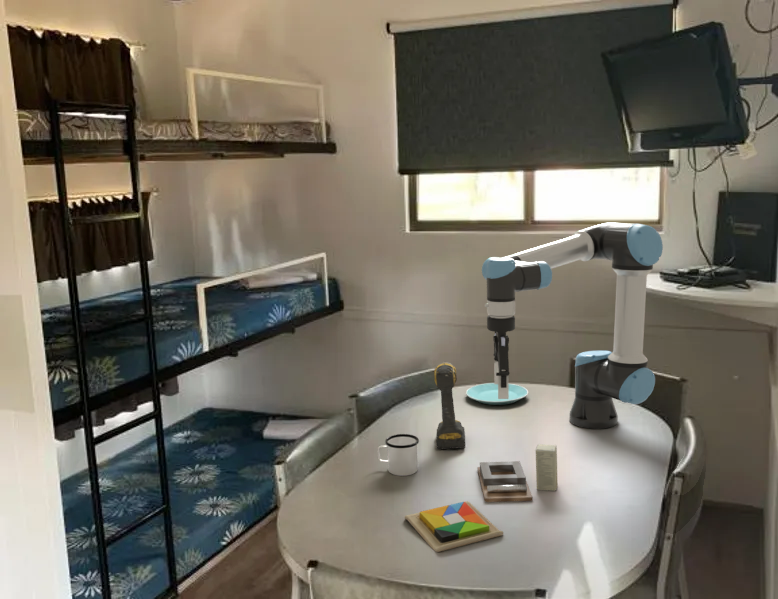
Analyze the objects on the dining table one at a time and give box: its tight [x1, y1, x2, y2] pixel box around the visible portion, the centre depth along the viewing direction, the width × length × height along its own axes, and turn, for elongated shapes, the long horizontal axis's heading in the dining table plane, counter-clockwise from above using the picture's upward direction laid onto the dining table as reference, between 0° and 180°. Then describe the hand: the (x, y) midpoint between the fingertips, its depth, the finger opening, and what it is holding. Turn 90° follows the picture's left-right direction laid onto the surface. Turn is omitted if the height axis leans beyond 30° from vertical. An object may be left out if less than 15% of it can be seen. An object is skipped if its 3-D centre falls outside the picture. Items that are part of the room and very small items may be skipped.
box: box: [535, 443, 559, 492], centre depth 202 cm, size 5×4×11 cm
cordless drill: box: [433, 361, 466, 450], centre depth 236 cm, size 9×20×25 cm, turn 174°
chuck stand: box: [477, 460, 533, 503], centre depth 205 cm, size 12×20×3 cm, turn 179°
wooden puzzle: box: [404, 500, 504, 553], centre depth 182 cm, size 18×19×4 cm
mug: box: [377, 433, 420, 477], centre depth 217 cm, size 12×10×9 cm
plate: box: [465, 382, 529, 406], centre depth 277 cm, size 22×22×3 cm
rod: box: [487, 485, 527, 493], centre depth 198 cm, size 10×2×2 cm, turn 89°
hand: (501, 391), depth 212 cm, fingers open, 13 cm apart
